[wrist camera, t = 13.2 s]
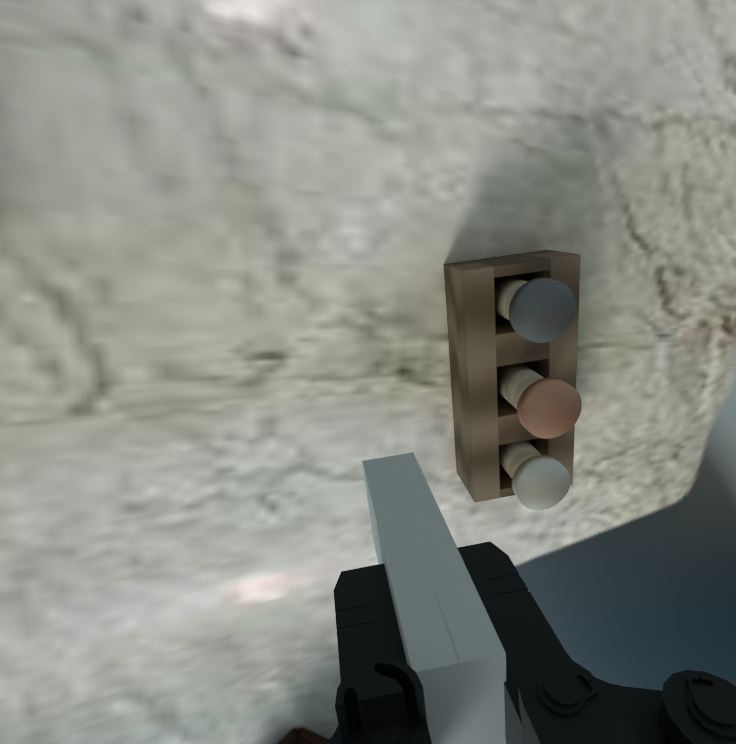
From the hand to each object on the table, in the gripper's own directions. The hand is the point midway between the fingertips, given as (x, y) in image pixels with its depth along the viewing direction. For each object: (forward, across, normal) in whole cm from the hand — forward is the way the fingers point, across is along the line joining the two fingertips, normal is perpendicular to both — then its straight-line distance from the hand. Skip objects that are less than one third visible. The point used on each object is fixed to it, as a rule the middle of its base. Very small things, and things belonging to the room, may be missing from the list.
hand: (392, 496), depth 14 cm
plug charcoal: (+26, +14, 0) cm, 29 cm away
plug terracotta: (+25, +14, -7) cm, 29 cm away
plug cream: (+26, +14, -14) cm, 33 cm away
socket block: (+26, +14, -7) cm, 31 cm away
